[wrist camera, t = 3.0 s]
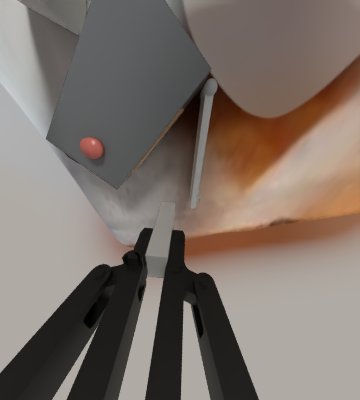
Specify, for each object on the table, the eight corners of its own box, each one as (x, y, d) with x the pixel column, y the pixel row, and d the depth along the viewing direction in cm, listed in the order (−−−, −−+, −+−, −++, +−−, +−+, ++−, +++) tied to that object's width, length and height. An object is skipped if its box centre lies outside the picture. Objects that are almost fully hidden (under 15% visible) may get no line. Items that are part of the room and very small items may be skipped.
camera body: (148, 13, 16) (106, -95, 8) (203, 87, 20) (214, 66, 11) (86, 139, 25) (33, 151, 16) (132, 175, 28) (108, 201, 20)
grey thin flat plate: (200, 89, 20) (205, 78, 14) (211, 90, 20) (222, 79, 14) (188, 189, 29) (188, 208, 23) (196, 189, 29) (198, 209, 23)
